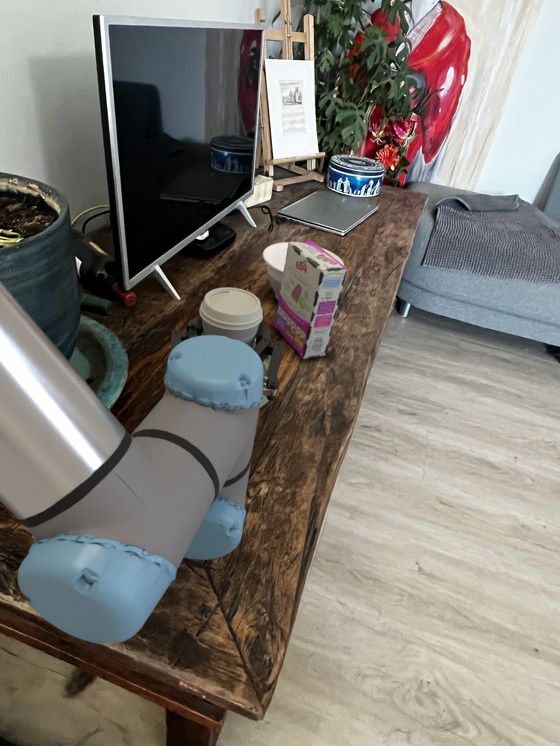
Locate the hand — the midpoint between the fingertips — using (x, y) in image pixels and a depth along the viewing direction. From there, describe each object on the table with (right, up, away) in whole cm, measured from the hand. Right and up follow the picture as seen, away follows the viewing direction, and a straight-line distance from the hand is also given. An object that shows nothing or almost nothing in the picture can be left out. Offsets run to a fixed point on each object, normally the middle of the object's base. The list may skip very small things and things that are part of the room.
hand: (232, 316), depth 72 cm
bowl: (+10, +7, +28) cm, 30 cm away
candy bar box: (+10, -3, +15) cm, 18 cm away
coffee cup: (-1, -8, 0) cm, 9 cm away
